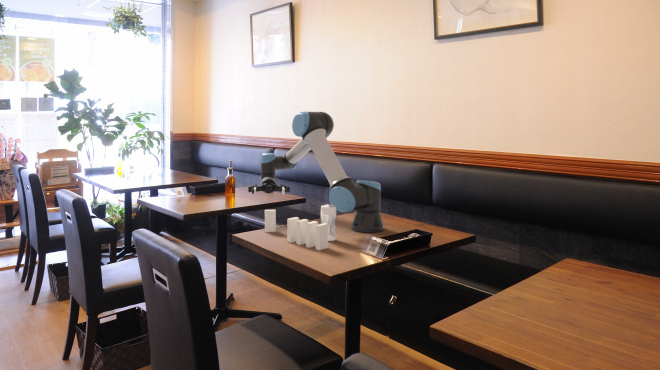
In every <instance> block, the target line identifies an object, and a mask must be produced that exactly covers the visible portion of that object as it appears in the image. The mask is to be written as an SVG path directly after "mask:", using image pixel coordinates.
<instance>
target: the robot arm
mask: <svg viewBox="0 0 660 370" xmlns="http://www.w3.org/2000/svg"><path fill="white" fill-rule="evenodd" d="M334 127H335V122H334V119H333V117H332V116H331V115H330V114H329V113H327V112H324V111H307V110H306V111H305V110H304V111H300V112H297V113H296V114H295V115H294V116H293V119H292V124H291V129H292V132H293V134H294V135H295V136H296V137H299V138H300V139H299V140H298V141H297V143H295V144H294V146H292V147H291V148H290V149H289V150H288V151H287V152H286V153H285V154H283V155H281V156H280V155H279V156H276V154H275V153H273V152H265V153H264V152H263V153H262V154H261V156H260V170H261V172H260V185H259V184H258V183H255V184H254V185H251V186H247V190H248V193H251V194H253V195H254V196H255V195H256V196H257V192H263V193H265V194H272V193H275V192H282V195H283V196H284V195H285V193H290V192H291V187H290V186H288V185H285V184H281V183H280V184H277V183H276V171H282V170H286V171H287V170H293V169H296V168H297V167H298V165H299V161H300V160H301V159H302V158H303V157H304V156H305V155H306V154H308V153H309V152H310V151H312V153H313V154H314V156H315V158H316V160H317V162H318V164H319V166H320V168H321V169H322V171H323V174H324V176H325V178H326V179H327V180H328V184H329V186H330V187H329V189H328V190H329V194H328V197H329V203H330V204H331V205H336V210H337V212H339V213H350V212H354V211H355V213H354V215H353V219H352V223H351V229H352V230H353V231H354V232H358V233H359V232H360V233H379V232H382V231H383V230H384V229H385V228H384V227H385V225H384V222H383V218H382V215H381V203H382V202H381V201H382V200H381V199H382V198H381V197H382V196H381V195H382V186H381V183H380V182H377V181H372V180H364V179H362V180H361V179H357V180H356V181H354V180H353V178H352V177H351V176H347V174H346V171H345V170H344V168H343V167H342V165H341V163H340V161H339V159H338V157H337V156H336V153H335V152H334V150H333V147H332V146H331V144H330V143H329V141H328V139H327V138H328V137H329V136H330V135H331V134H332V133H333V130H334Z"/></svg>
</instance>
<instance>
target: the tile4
mask: <svg viewBox="0 0 660 370" xmlns="http://www.w3.org/2000/svg"><path fill="white" fill-rule="evenodd" d="M318 224H319V222H318V221H316V220H313V221H308V223H306V244H305V247H306V248H313V247H316V225H318Z"/></svg>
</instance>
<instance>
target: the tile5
mask: <svg viewBox="0 0 660 370" xmlns="http://www.w3.org/2000/svg"><path fill="white" fill-rule="evenodd" d="M328 246H329V242H328V224H326V223H323V224H321V223H318V225H316V246H315V250H316V251H322V250H326V249H328V248H329V247H328Z"/></svg>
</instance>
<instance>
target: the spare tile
mask: <svg viewBox="0 0 660 370" xmlns="http://www.w3.org/2000/svg"><path fill="white" fill-rule="evenodd" d="M276 217H277V210H276V209H264V232H265V233H276V232H277V220H276V219H277V218H276Z"/></svg>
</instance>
